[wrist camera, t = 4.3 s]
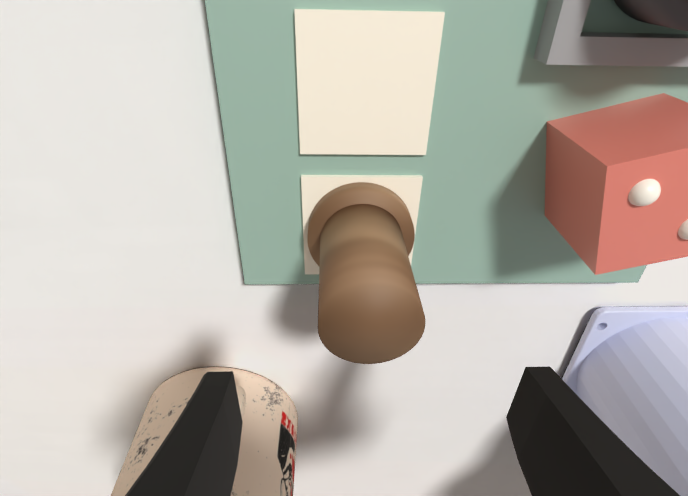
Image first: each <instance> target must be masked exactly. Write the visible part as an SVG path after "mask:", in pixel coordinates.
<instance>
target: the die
mask: <svg viewBox="0 0 688 496" xmlns="http://www.w3.org/2000/svg"><path fill="white" fill-rule="evenodd" d="M545 216H546V218H547V219H548V220H549V221H550V222H551V224H552V225H553V226H554V227H555V228H556V229H557V231H558V232H559V233H560V234H561V235H562V236H563V238H564V239H565V240H566V241H567V242H568V244H569V245H570V246H571V247H572V248H573V249H574V251H575V252H576V253H577V254H578V255H579V257H580V258H581V259H582V260H583V261H584V262H585V264H586V265H587V266H588V267H589V268H590V270H591V271H592V272H593V273H594V274H595V275H598V274H603V273H608V272H613V271H618V270H623V269H628V268H633V267H638V266H642V265H647V264H652V263H657V262H662V261H667V260H672V259H677V258H682V257H687V256H688V102H685V101H683V100H680V99H678V98H675V97H673V96H670V95H668V94H665V93H662V94H658V95H654V96H650V97H645V98H641V99H637V100H633V101H629V102H625V103H621V104H617V105H612V106H608V107H604V108H600V109H596V110H592V111H588V112H584V113H580V114H575V115H571V116H567V117H563V118H559V119H555V120H551V121H547V130H546V174H545Z"/></svg>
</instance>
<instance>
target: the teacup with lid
mask: <svg viewBox="0 0 688 496" xmlns="http://www.w3.org/2000/svg"><path fill="white" fill-rule="evenodd" d="M225 371H233V374H234V379H235V384H236V390H237V395H238V400H239V406H240V411H241V416H242V421H243V424H242V432H241V441H240V449H239V457H238V465H237V470H236V474H235V479H234V483H233V488H232V492H231V496H293V486H294V471H295V455H296V439H297V424H298V417H297V411H296V408H295V405H294V403H293V401H292V400H291V398H290V397H289V396H288V395H287V393H286V392H285V391H284V390H283V389H281V388H280V387H279V386H278V385H276V384H275V383H273V382H272V381H270V380H268V379H266V378H264V377H262V376H260V375H257V374H255V373H252V372H248V371H245V370H240V369H234V368H226V367H206V368H198V369H193V370H189V371H185V372H182V373H180V374H177V375H175V376H173V377H171V378H169V379H168V380H166V381H165V382H163V383H162V384H161V385H160V386H159V387H158V388H157V389H156V390H155V391H154V393H153V394H152V396H151V398H150V400H149V402H148V404H147V407H146V409H145V412H144V414H143V417H142V419H141V422H140V424H139V427H138V429H137V432H136V434H135V437H134V439H133V442H132V444H131V447H130V449H129V452H128V454H127V457H126V459H125V462H124V464H123V466H122V469H121V471H120V474H119V476H118V479H117V481H116V484H115V486H114V489H113V491H112V494H111V496H125V495H126V494H127V492H128V491H129V489H130V488H131V487H132V485H133V484H134V483H135V481H136V480H137V479H138V477H139V476H140V474H141V473H142V472H143V470H144V469H145V468H146V466H147V465H148V463H149V462H150V460H151V459H152V458H153V456H154V455H155V453H156V452H157V450H158V449H159V447H160V446H161V444H162V443H163V441H164V440H165V438H166V437H167V435H168V434H169V432H170V431H171V429H172V428H173V426H174V424H175V423H176V421H177V420H178V418H179V416H180V415H181V413H182V412H183V410H184V408H185V407H186V405H187V403H188V402H189V400H190V398H191V397H192V395H193V393H194V391H195V390H196V388H197V386H198V384H199V383H200V381H201V379H202V377H203V375H204V374H206V373H207V372H225Z"/></svg>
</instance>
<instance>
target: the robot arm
mask: <svg viewBox="0 0 688 496" xmlns="http://www.w3.org/2000/svg"><path fill="white" fill-rule="evenodd" d="M506 418H507V421H508V425H509V429H510V433H511V437H512V441H513V444H514V448H515V451H516V455H517V458H518V461H519V464H520V466H521V469H522V471H523V474H524V476H525V479H526V481H527V484H528V486H529V489H530V492H531V494H532V496H688V306H676V307H602V308H599V309H597V310H595V311H594V312H593V314H592V315H591V318H590V320H589V322H588V324H587V326H586V328H585V331H584V333H583V335H582V337H581V339H580V341H579V343H578V346H577V348H576V350H575V352H574V354H573V356H572V358H571V361H570V363H569V365H568V367H567V369H566V371H565V373H564V376H563V378H562V379H561V378H560V377H559V376H558V375H557V374H556V373H555V371H554V370H553V369H552V368H551V367H526V368H525V370H524V373H523V375H522V378H521V381H520V383H519V386H518V388H517V391H516V394H515V396H514V399H513V401H512V404H511V407H510V409H509V412H508V414H507V417H506ZM242 424H243V421H242V416H241V411H240V406H239V400H238V395H237V390H236V384H235V379H234V374H233V371H225V372H207V373H206V374H204V375H203V377H202V379H201V381H200V383H199V384H198V386H197V388H196V390H195V391H194V393H193V395H192V397H191V398H190V400H189V402H188V403H187V405H186V407H185V408H184V410H183V412H182V413H181V415H180V416H179V418H178V420H177V421H176V423H175V424H174V426H173V428H172V429H171V431H170V432H169V434H168V435H167V437H166V438H165V440H164V441H163V443H162V444H161V446H160V447H159V449H158V450H157V452H156V453H155V455H154V456H153V458H152V459H151V460H150V462H149V463H148V465H147V466H146V468H145V469H144V470H143V472H142V473H141V474H140V476H139V477H138V479H137V480H136V481H135V483H134V484H133V485H132V487H131V488H130V489H129V491H128V492H127V494H126V495H125V496H231V492H232V488H233V483H234V479H235V474H236V470H237V465H238V457H239V449H240V441H241V432H242Z"/></svg>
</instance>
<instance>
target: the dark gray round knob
mask: <svg viewBox="0 0 688 496" xmlns="http://www.w3.org/2000/svg"><path fill="white" fill-rule="evenodd" d="M614 2H615V3H616V5H617V6H618V7H619V8H620V9H621V10H622V11H623V12H624V13H625V14H627V15H628V16H629V17H631V18H633V19H635V20H637V21H641V22H644V23H648V24H653V25H658V26H663V27H668V28H673V29H678V30H683V31H688V0H614Z"/></svg>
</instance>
